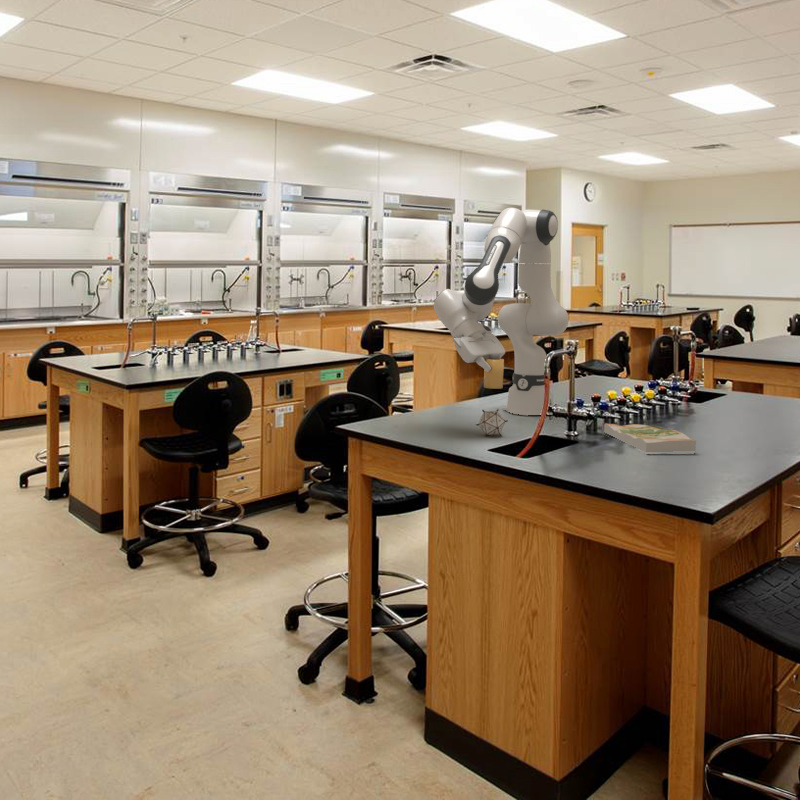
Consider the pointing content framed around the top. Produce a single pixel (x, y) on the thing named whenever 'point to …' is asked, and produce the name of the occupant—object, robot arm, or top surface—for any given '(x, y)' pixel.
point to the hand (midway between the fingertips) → (495, 369)
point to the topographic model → (651, 438)
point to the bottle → (494, 372)
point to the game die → (491, 422)
